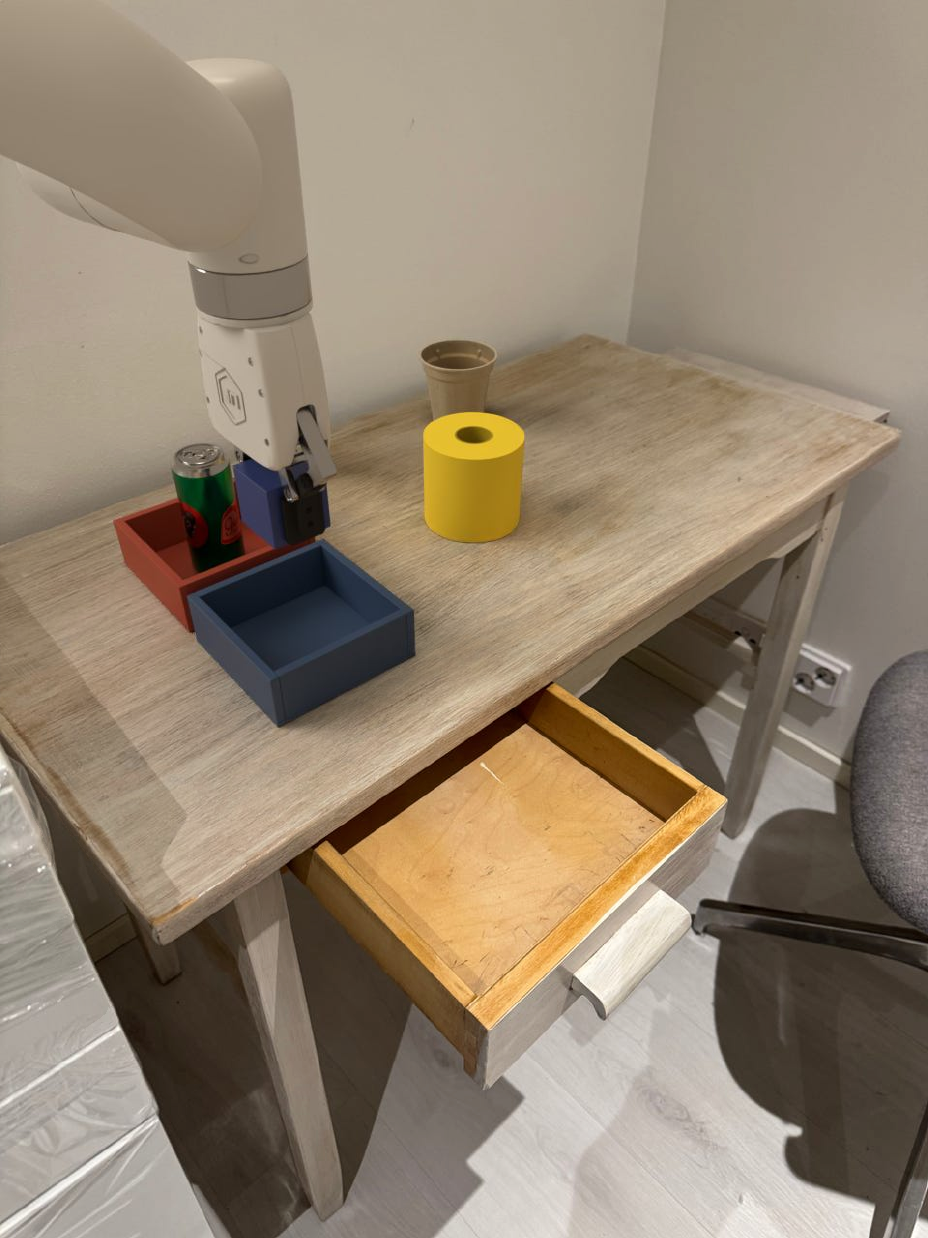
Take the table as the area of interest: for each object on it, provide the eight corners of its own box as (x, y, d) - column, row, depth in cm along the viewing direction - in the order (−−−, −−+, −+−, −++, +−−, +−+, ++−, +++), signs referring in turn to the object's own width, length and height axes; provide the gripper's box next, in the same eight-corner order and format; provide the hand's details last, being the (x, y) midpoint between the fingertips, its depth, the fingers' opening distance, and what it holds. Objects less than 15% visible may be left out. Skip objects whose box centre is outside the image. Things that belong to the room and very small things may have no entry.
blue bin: (278, 728, 70) (270, 681, 67) (196, 641, 78) (186, 595, 75) (415, 655, 77) (414, 609, 74) (327, 582, 85) (323, 538, 82)
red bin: (189, 633, 79) (178, 587, 76) (124, 563, 87) (112, 520, 84) (319, 575, 86) (314, 531, 82) (248, 516, 94) (241, 474, 90)
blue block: (275, 550, 67) (266, 492, 63) (241, 521, 70) (231, 465, 66) (331, 526, 69) (325, 469, 66) (296, 500, 72) (289, 444, 69)
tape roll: (538, 525, 93) (544, 443, 87) (455, 552, 89) (455, 469, 83) (487, 482, 99) (489, 404, 93) (407, 506, 95) (405, 426, 89)
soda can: (241, 581, 84) (221, 468, 76) (187, 580, 84) (161, 467, 76) (251, 550, 88) (233, 440, 80) (200, 550, 88) (177, 439, 80)
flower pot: (405, 425, 110) (402, 357, 105) (446, 397, 116) (446, 332, 111) (470, 445, 106) (471, 376, 101) (508, 415, 112) (512, 348, 107)
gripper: (140, 263, 61) (190, 493, 72) (270, 338, 51) (303, 592, 62) (238, 242, 65) (271, 464, 76) (377, 308, 55) (390, 552, 66)
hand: (285, 519), depth 69 cm, fingers closed on blue block, 5 cm apart
